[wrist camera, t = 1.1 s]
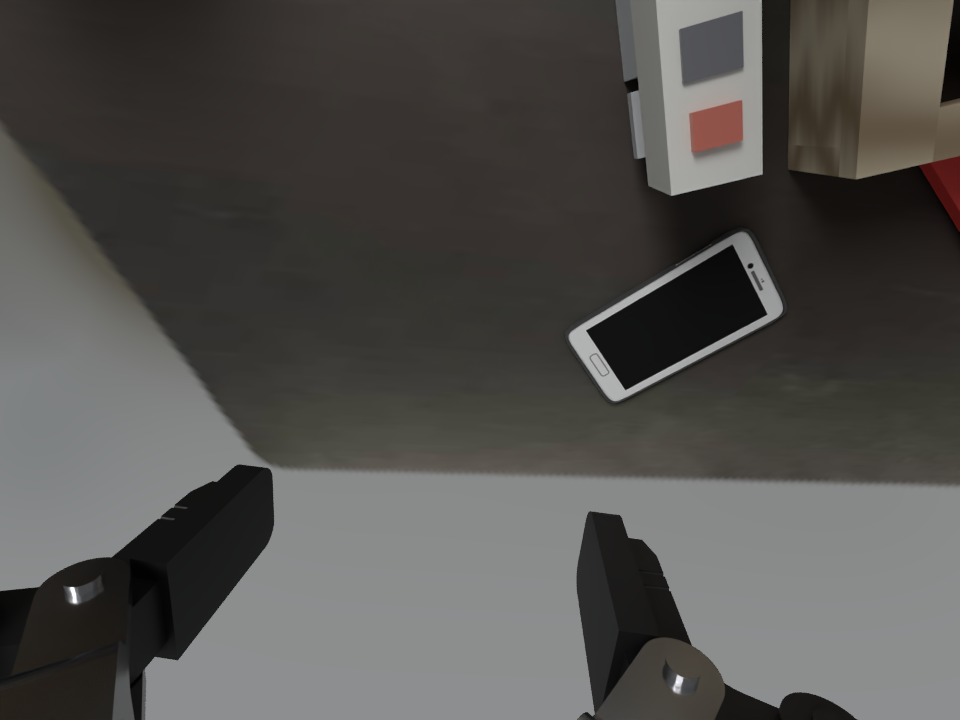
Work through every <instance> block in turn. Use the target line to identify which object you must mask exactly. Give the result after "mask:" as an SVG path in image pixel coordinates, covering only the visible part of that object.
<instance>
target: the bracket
mask: <svg viewBox="0 0 960 720" xmlns="http://www.w3.org/2000/svg"><path fill="white" fill-rule="evenodd" d="M919 167H920V168H921V170H922V172H923V173H924V175H925V176H926V178H927V180H928V181H929V183H930V185H931V186H932V188H933V189H934V191H935V193H936V194H937V196H938V198H939V199H940V201H941V203H942V204H943V206H944V207H945V209H946V211H947V212H948V214H949V216H950V217H951V219H952V221H953V222H954V224H955V225H956V227H957V229H958V230H959V232H960V156H957V157H953V158H948V159H944V160H939V161H935V162H931V163H926V164H922V165H919Z"/></svg>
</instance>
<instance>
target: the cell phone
mask: <svg viewBox="0 0 960 720" xmlns="http://www.w3.org/2000/svg"><path fill="white" fill-rule="evenodd" d="M710 243H711V244H710V245H708V246H706V247H705V248H703V249H701V250H699V251H698V252H696V253H694V254H693V255H691V256H689V257H688V258H686V259H684V260H683V261H681V262H679V263H678V264H676V265H675V264H673V265H671V266H669V267H668V268H666V269H664V270H663V271H661V272H659V273H658V274H656V275H654V276H653V277H651V278H649V279H648V280H646V281H644V282H643V283H641V284H639V285H638V286H636V287H634V288H633V289H631V290H629V291H628V292H626V293H624V294H623V295H621V296H619V297H618V298H616V299H614V300H613V301H611V302H609V303H608V304H606V305H604V306H603V307H601V308H599V309H598V310H596V311H594V312H593V313H591V314H589V315H588V316H586V317H584V318H583V319H581V320H579V321H578V322H576V323H574V324H573V325H572V326H570V327H569V328H568V329H567V330H566V331H565V333H564V337H565V341H566V343H567V345H568V346H569V348H570V350H571V351H572V352H573V354H574V355H575V357H576V358H577V360H578V361H579V363H580V364H581V366H582V367H583V369H584V370H585V371H586V373H587V374H588V376H589V377H590V379H591V380H592V382H593V383H594V385H595V386H596V387H597V389H598V390H599V392H600V393H601V395H602V396H603V397H604V399H605V400H606V401H608V402H609V403H611V404H616V403H619V402H621V401H624V400H626V399H628V398H630V397H632V396H634V395H636V394H638V393H639V392H641V391H643V390H645V389H647V388H649V387H651V386H653V385H655V384H657V383H659V382H661V381H662V380H664V379H666V378H668V377H670V376H672V375H674V374H676V373H678V372H680V371H682V370H683V369H685V368H687V367H689V366H691V365H693V364H695V363H697V362H699V361H701V360H703V359H705V358H706V357H708V356H710V355H712V354H714V353H716V352H718V351H720V350H722V349H724V348H726V347H727V346H729V345H731V344H733V343H735V342H737V341H739V340H741V339H743V338H745V337H747V336H749V335H750V334H752V333H754V332H756V331H758V330H760V329H762V328H764V327H766V326H768V325H770V324H771V323H773V322H775V321H776V320H778V319H779V318H781V317H782V316H783V315H784V314H785V313H786V312H787V302H786V299H785V297H784V295H783V293H782V291H781V288H780V286H779V284H778V282H777V280H776V278H775V276H774V274H773V272H772V270H771V268H770V265H769V263H768V261H767V259H766V257H765V255H764V253H763V251H762V249H761V247H760V245H759V243H758V240H757V239H756V237H755V235H754V234H753V233H752V231H751V230H749V229H748V228H746V227H737V228H735V229H733V230H731V231H729V232H727V233H725V234H723V235H722V236H720V237H718V238H717V239H715V240H713V241H711V242H710Z"/></svg>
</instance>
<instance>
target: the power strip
mask: <svg viewBox="0 0 960 720" xmlns="http://www.w3.org/2000/svg"><path fill="white" fill-rule="evenodd" d="M630 4H631V14H632V24H633V34H634V45H635V55H636V65H637V75H638V85H639V90H638V91H634V92H631V93H628V94H627V97H628V106H629V116H630V125H631V134H632V144H633V153H634V158H635V159H640V158H644V157H646V167H647V178H648V186H650V187H652V188H654V189H657V190H659V191H661V192H664V193H666V194H668V195H671V196H673V195H677V194H682V193H686V192H690V191H694V190H699V189H703V188H707V187H711V186H715V185H720V184H724V183H728V182H732V181H736V180H741V179H745V178H749V177H753V176H758V175H762V174H763V162H762V0H630Z"/></svg>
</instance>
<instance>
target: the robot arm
mask: <svg viewBox="0 0 960 720" xmlns="http://www.w3.org/2000/svg"><path fill="white" fill-rule="evenodd" d="M273 526H274V507H273V481H272V473H271V470H270V469H268V468H263V467H254V466H246V465H237V466H235V467H234V468H232V469H231V470H230V471H229V472H228V473H227V474H226V475H224V476H223V477H222V478H221V479H220V480H219V481H217V482H213V481H212V482H210V483H208V484H206V485H204V486H202V487H200V488H197V489H195V490H193V491H191V492H190V493H188V494H187V495H186V496H185V497H184V498H182V499H181V500H180V501H179V502H178V503H176V504H175V506H174V508H171V509H169V510H168V511H167V512H166V513H165V514H163V515H162V517H161V519H157V520H156V521H155V522H154V523H153V524H151V525H150V526H149V527H148V528H147V529H145V530H144V531H143V532H142V533H141V534H140V535H138V536H137V537H136V538H135V539H133V540H132V541H131V542H130V543H129V544H127V545H126V546H125V547H124V548H123V549H121V550H120V551H119V552H118V553H117V554H115V555H114V556H113V557H112V558H110V557H106V558H96V559H90V560H86V561H82V562H79V563H76V564H74V565H71V566H69V567H67V568H64V569H63V570H61V571H59V572H57V573H56V574H54V575H53V576H51V577H50V578H48V579H47V580H46V581H45V582H44V583H43V584H42V585H41V586H40V587H37V588H26V589H16V590H7V591H0V720H145V701H146V698H145V697H146V678H145V677H146V676H145V667H146V666H147V665H148V664H149V663H150V662H151V661H152V659H153V658H154V657H161V658H167V659H173V660H178V659H179V658H180V657H181V656H182V654H183V653H184V652H185V650H186V649H187V648H188V646H189V645H190V644H191V643H192V641H193V640H194V639H195V637H196V636H197V635H198V633H199V632H200V631H201V630H202V628H203V627H204V625H205V624H206V623H207V622H208V621H209V619H210V618H211V617H212V615H213V614H214V613H215V612H216V610H217V609H218V608H219V606H220V605H221V604H222V602H223V601H224V600H225V599H226V597H227V596H228V595H229V594H230V592H231V591H232V590H233V588H234V587H235V586H236V584H237V583H238V582H239V581H240V579H241V578H242V577H243V575H244V574H245V573H246V572H247V570H248V569H249V568H250V566H251V565H252V564H253V563H254V561H255V560H256V559H257V557H258V556H259V555H260V553H261V552H262V551H263V550H264V548H265V547H266V545H267V544H268V542H269V540H270V537H271V534H272V531H273ZM577 594H578V600H579V608H580V615H581V622H582V628H583V635H584V642H585V649H586V656H587V663H588V670H589V677H590V683H591V690H592V696H593V704H594V711H595V715H594V716H593V717H592V716H591V715H590V714H589V713H588V712H585V713H583V714H582V715H581V716H580V717H579V718H578V719H577V720H857V719H855V718H854V717H853V716H852V715H851V714H849V713H848V712H847V711H845V710H844V709H842V708H841V707H839V706H838V705H836V704H834V703H833V702H831V701H829V700H826V699H824V698H822V697H819V696H816V695H813V694H809V693H801V692H800V693H792V694H789V695H787V696H786V697H785V698H784V699H783V700H782V703H781V705H780V708H777V707H774V706H772V705H769V704H767V703H765V702H762V701H760V700H757V699H755V698H753V697H750V696H748V695H745V694H743V693H741V692H739V691H737V690H735V689H733V688H731V687H730V686H728V685H726V684H725V683H724V682H723V679H722V676H721V674H720V673H719V671H718V669H717V668H716V667H715V665H714V664H713V663H712V662H711V660H710V659H709V658H708V657H706V656H705V655H704V654H703V653H702V652H700V651H699V650H698V649H696V648H694V647H693V646H692V645H691V642H690V640H689V637H688V635H687V632H686V629H685V627H684V624H683V622H682V619H681V617H680V615H679V612H678V609H677V607H676V604H675V601H674V599H673V597H672V594H671V592H670V591H669V586H668V584H667V581H666V579H665V577H663V571H662V569H661V566H660V563H659V561H658V558H657V556H656V555H655V554H654V553H653V552H652V551H651V549H650V548H649V547H648V546H647V545H646V544H645V543H644V542H643V541H642V540H639V539H632V538H628V536H627V533H626V530H625V527H624V524H623V521H622V518H621V516H620V515H613V514H606V513H598V512H591V511H590V512H589V513H588V515H587V518H586V523H585V528H584V534H583V540H582V545H581V550H580V555H579V560H578V567H577Z"/></svg>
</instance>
